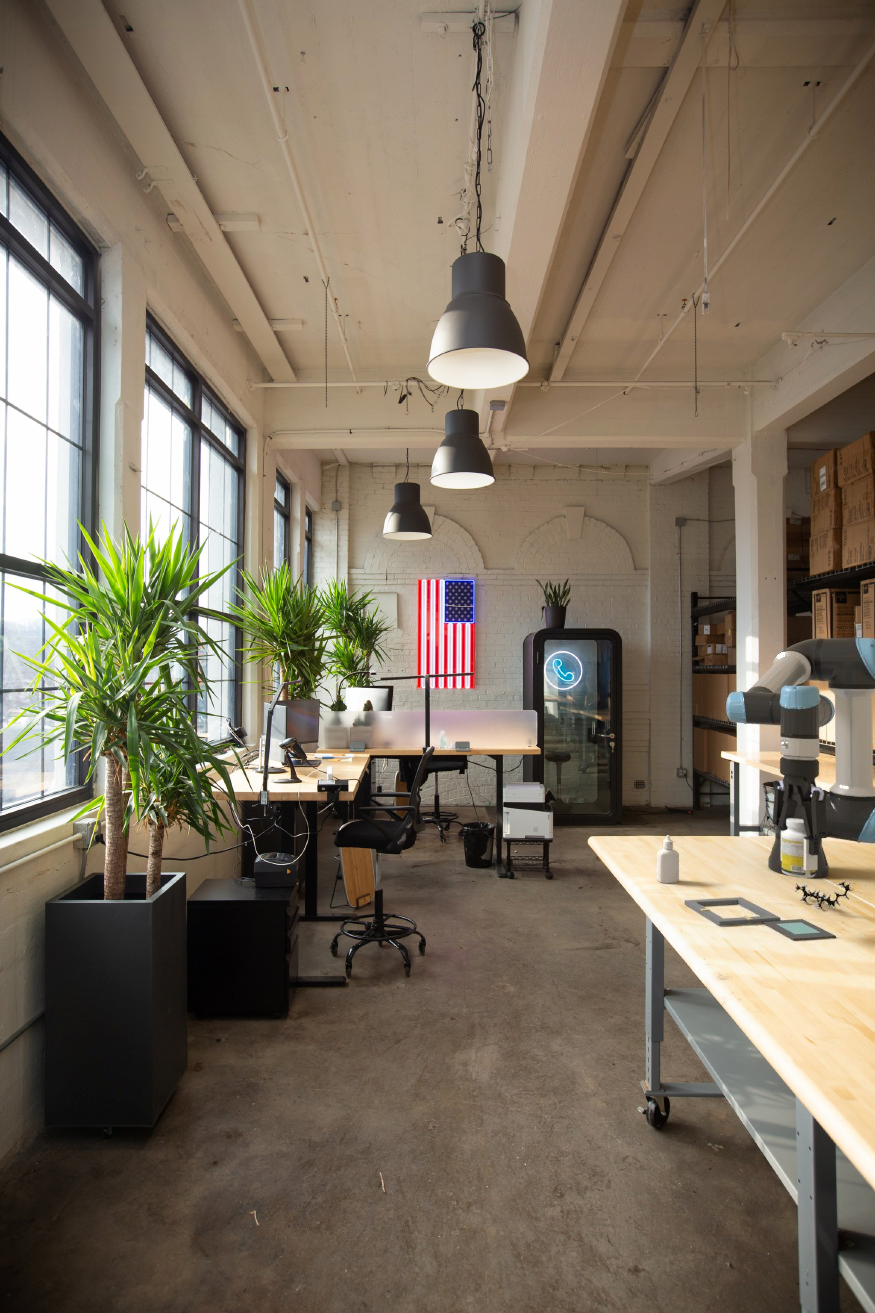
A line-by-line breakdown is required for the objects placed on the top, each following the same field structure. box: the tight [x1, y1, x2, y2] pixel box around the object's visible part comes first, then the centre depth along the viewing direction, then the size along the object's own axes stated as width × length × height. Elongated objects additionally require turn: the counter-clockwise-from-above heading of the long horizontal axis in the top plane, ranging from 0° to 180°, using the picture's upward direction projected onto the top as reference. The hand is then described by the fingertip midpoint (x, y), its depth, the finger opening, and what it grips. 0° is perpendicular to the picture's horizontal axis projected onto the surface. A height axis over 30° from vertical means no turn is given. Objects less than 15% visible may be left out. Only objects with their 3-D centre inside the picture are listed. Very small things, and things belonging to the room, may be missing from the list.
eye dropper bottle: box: [656, 834, 680, 884], centre depth 185 cm, size 4×6×12 cm
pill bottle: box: [782, 818, 815, 879], centre depth 152 cm, size 6×6×12 cm
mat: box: [761, 918, 837, 942], centre depth 151 cm, size 10×10×1 cm
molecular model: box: [794, 879, 854, 911], centre depth 167 cm, size 6×15×8 cm, turn 21°
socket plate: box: [684, 896, 782, 927], centre depth 161 cm, size 15×14×1 cm
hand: (798, 865), depth 152 cm, fingers closed on pill bottle, 6 cm apart
